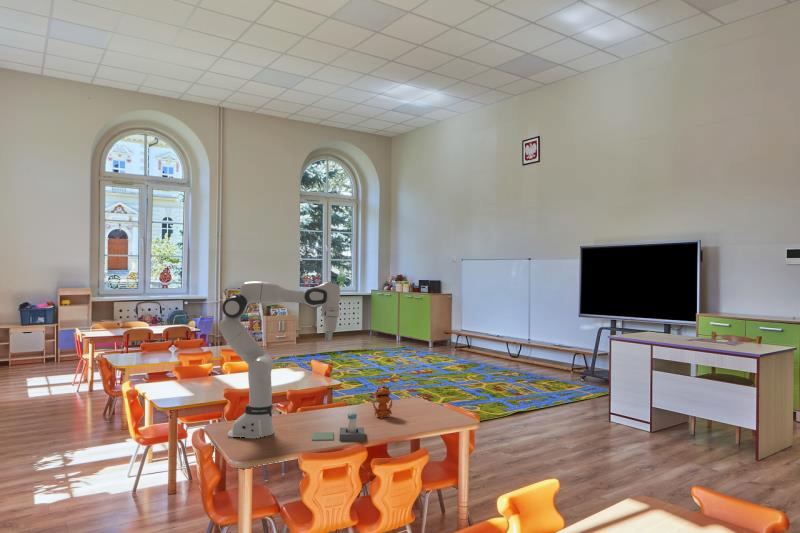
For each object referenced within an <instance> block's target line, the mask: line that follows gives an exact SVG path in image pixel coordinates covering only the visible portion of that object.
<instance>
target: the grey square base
mask: <svg viewBox="0 0 800 533" xmlns="http://www.w3.org/2000/svg"><path fill="white" fill-rule="evenodd" d="M365 435H366V433H365V427H362V426H361V427H357V426H356V433H348V427H339V439H338V440H339V442H349V441H350V442H359V441H365V439H366V438H365V437H366V436H365Z"/></svg>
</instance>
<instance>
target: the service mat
mask: <svg viewBox="0 0 800 533" xmlns="http://www.w3.org/2000/svg"><path fill="white" fill-rule="evenodd" d="M334 435H335V434H334V431H330V432H329V431H327V432H322V431H321V432H318V431H317V432H315V431H314V432H313V434H312V438H311V441H313V442H314V441H315V442H317V441H319V442H320V441H322V442H323V441H324V442H325V441H327V442H328V441H334Z"/></svg>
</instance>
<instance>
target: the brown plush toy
mask: <svg viewBox="0 0 800 533" xmlns="http://www.w3.org/2000/svg"><path fill="white" fill-rule="evenodd" d="M391 393H392V392H391V391H390V386H386V385H382V386H381V387H380V386H378V387H377V389H376V391H375V392H374V396H375V400H372V406H373V409H374V415H375V416H377V418H378V417H387V418H388V417H390V416H391V415H393V413H392V410H391V409H392V407H393V400H392V399H391V396H390V395H391ZM375 401H376V402H377V403H378V406H377V407H376V405H375ZM388 403H390V404H389V405H388Z"/></svg>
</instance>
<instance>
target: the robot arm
mask: <svg viewBox="0 0 800 533" xmlns="http://www.w3.org/2000/svg"><path fill="white" fill-rule="evenodd" d="M340 300H341V288H340V286H339V284H338V283H335V282H332V281H325V282H323V283H321V284H320V285H317V286H313V287H312V286H311V287H309V288H307V289H306V290H302V291H301V290H292V289H287V288H285V287H283V286H280V285H279V284H276V283H273V282H267V281H257V280H256V281H245V282H243V283H242V284H241V285H240V288H239V292H238V293H235V294H233V295H231V296H229V297H227V298H226V299H225V300H224V301H223V303H222V306H221V307H222V308H221V309H222V313H223V314H224V318H223V319H221V320H220V321H219V324H218V329H219V331H220V333H221V336H222V337H223V338H224V340H225V341H226V342H227V344H228V345H229V346H230V348H231V349H232V350H233V351H234V352H235V354H236V355H237V356H238V358H240V359H241V360H243V361H244V363H246V364H247V365H248V366H247V375H248V378H247V380H248V388H249V389H248V390H249V392H248V393H249V394H248V403H247V404H245V406H244V413H242V414H241V415H240V416H239V417H238V418H236V419H235V421H234V422H233V425H232V427H231V429H230V430H229V431H228V432H227V437H229V438H233V437H240V438H239V439H242V438H241V437H245V438H244V439H256V438H257V439H261V438H264V436H265V437H269V436H271V435H274V434H275V430H274V429H275V428H274V424H273V412H274V411H273V409H274V408H273V404H272V403H273V402H272V401H273V400H272V398H273V386H272V371H273V368H274V365H275V364H274V360H273V358H272V357H271V356H270V355H269V354H268V352H267V351H266V350H265V349H264V348H263V347H262V346H261V345H260V344H259V343H258V342H257V341H256V340H255V339H254V337H253V336H252V335H251V333H250V332H249V330H248V329H247V328H246V327H245V326H244V325H243V323H242V322H241V321H242V319H243V318H244V316H245V314H246V313H247V311H248V309H249V305H251V304H262V305H263V304H265V305H266V304H269V305H270V304H278V303H295V304H303V305H306V306H308V307H309V308H312V309H317V308H320V307H321V317H322V318H323V327H322V330H323V332H324V337H325V339H324V340H325V341H326V342H328V341H329V342H332V340H333V334H334V333H335V331H336V329H337V323H338V322H337V321H338V318H339V316H340V315H339V314H340ZM260 437H261V438H260Z"/></svg>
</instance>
